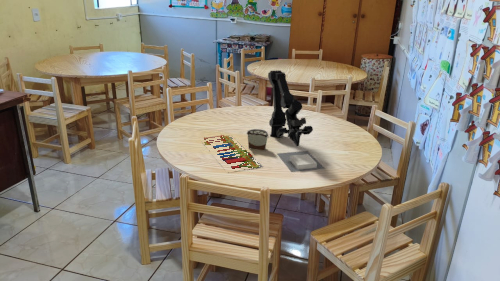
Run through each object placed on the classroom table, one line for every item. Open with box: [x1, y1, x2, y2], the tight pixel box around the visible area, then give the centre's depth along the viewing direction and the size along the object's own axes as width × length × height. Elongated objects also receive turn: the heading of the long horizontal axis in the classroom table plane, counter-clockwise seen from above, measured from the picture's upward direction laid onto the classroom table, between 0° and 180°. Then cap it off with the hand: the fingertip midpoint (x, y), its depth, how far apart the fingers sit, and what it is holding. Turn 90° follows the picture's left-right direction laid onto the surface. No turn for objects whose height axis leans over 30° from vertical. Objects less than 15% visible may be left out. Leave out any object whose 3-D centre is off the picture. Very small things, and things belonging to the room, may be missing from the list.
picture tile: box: [290, 154, 317, 170], centre depth 183 cm, size 3×10×11 cm
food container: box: [246, 128, 269, 151], centre depth 199 cm, size 12×6×10 cm, turn 71°
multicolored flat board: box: [203, 134, 264, 171], centre depth 194 cm, size 45×2×19 cm
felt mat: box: [276, 150, 326, 173], centre depth 187 cm, size 22×18×1 cm
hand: (297, 146), depth 188 cm, fingers closed
